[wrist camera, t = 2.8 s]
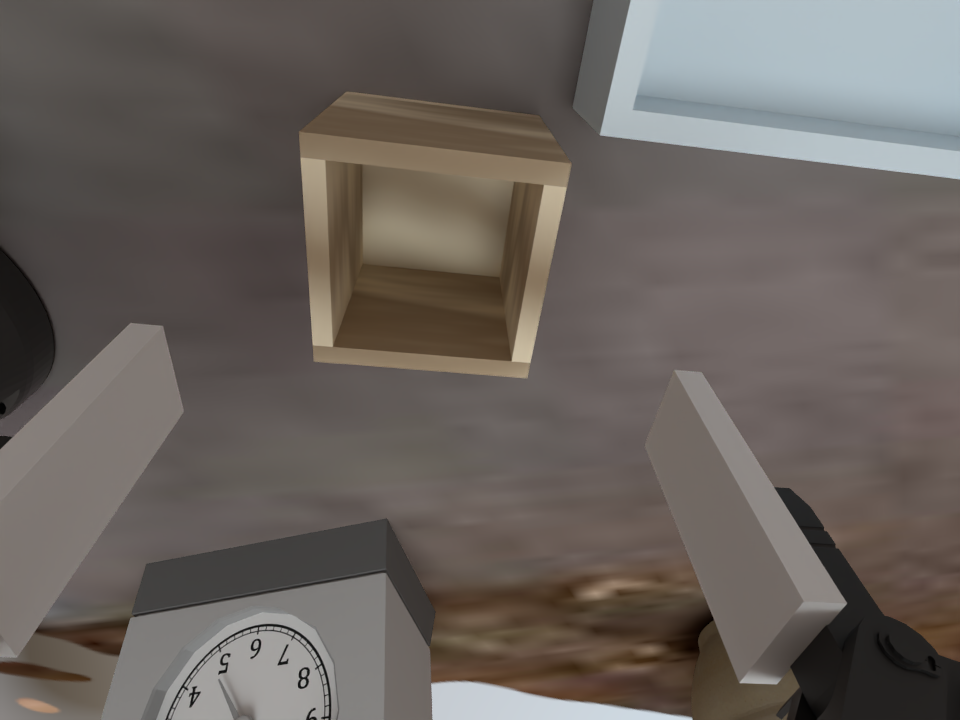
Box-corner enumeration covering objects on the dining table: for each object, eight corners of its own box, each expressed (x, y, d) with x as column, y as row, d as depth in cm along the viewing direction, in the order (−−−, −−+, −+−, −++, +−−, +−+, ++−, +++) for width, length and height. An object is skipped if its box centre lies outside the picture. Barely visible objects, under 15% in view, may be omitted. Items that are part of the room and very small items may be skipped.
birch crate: (510, 285, 30) (527, 378, 23) (350, 270, 30) (313, 361, 22) (538, 115, 26) (571, 163, 18) (347, 91, 25) (298, 131, 17)
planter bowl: (635, 662, 55) (669, 792, 46) (716, 570, 46) (778, 708, 37) (770, 679, 58) (827, 804, 49) (869, 595, 49) (960, 728, 40)
